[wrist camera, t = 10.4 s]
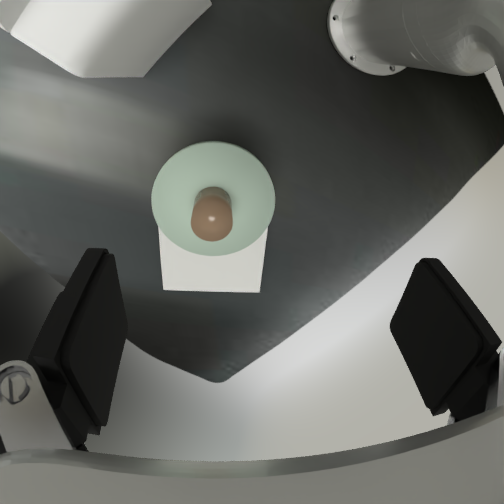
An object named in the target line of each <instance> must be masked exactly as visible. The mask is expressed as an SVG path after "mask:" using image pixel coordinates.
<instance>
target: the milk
mask: <svg viewBox="0 0 504 504" xmlns="http://www.w3.org/2000/svg"><path fill="white" fill-rule="evenodd" d="M211 5H212V3H211V1H210V0H0V27H1V28H2V29H4V30H5V31H7V32H11V35H12V36H13V37H15V38H17V39H18V40H20V41H21V42H23V43H25V44H26V45H28V46H29V47H31V48H32V49H34V50H36V51H37V52H39V53H40V54H42V55H43V56H45V57H46V58H48V59H50V60H51V61H53V62H54V63H56V64H57V65H59V66H60V67H62V68H64V69H65V70H67V71H68V72H70V73H72V74H74V75H76V76H79V77H83V78H95V77H144V76H145V75H146V73H147V72H148V71H149V70H150V69H151V67H152V66H153V65H154V64H155V63H156V62H157V61H158V59H159V58H160V57H161V56H162V55H163V54H164V53H165V52H166V51H167V49H168V48H169V47H170V46H171V45H172V44H173V43H174V42H175V41H176V40H177V39H178V38H179V37H180V36H181V34H182V33H183V32H184V31H185V30H186V29H187V28H188V27H189V26H190V25H191V24H192V23H193V22H194V21H195V20H196V19H197V18H198V17H199V16H201V15H202V14H203V13H204V12H205V11H206V10H207V9H208V8H209V7H210V6H211Z"/></svg>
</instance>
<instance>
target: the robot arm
mask: <svg viewBox="0 0 504 504" xmlns="http://www.w3.org/2000/svg"><path fill="white" fill-rule="evenodd" d="M333 17H334V18H335V21H334V20H333ZM327 29H328V33H329V37H330V39H331V42H332V44H333V46H334V48H335V49H336V51H337V52H338V54H339V55H340V56H341V57H342V58H343V59H344V60H345V61H346V62H347V63H348V64H350V65H351V66H352V67H354V68H356V69H358V70H359V71H362V72H365V73H368V74H372V75H381V76H385V75H392V74H395V73H398V72H400V71H402V70H403V69H405V68H406V67H412V68H419V69H426V70H432V71H438V72H444V73H449V74H455V75H462V76H473V75H478V74H481V73H484V72H486V71H488V70H489V69H490V68H492V67H493V66H494V65H496V66H497V68H498V71H499V74H500V77H501V80H502V83H503V86H504V0H334V1H333V2H332V3H331V6H330V8H329V11H328V17H327ZM350 56H351V57H352V60H350ZM389 67H391V69H390V68H389ZM390 330H391V333H392V335H393V337H394V339H395V341H396V343H397V345H398V347H399V349H400V351H401V353H402V355H403V357H404V360H405V362H406V364H407V366H408V368H409V370H410V372H411V374H412V376H413V379H414V381H415V383H416V385H417V387H418V390H419V392H420V394H421V396H422V399H423V400H424V403H425V405H426V407H427V408H429V409H430V411H431V413H432V415H433V416H436V415H439V414H442V413H445V412H446V411H447V410H448V409H449V410H450V412H451V413H450V416H449V420H448V424H447V426H444V427H441V428H438V429H434V430H431V431H428V432H425V433H421V434H417V435H414V436H410V437H406V438H402V439H398V440H394V441H390V442H386V443H382V444H377V445H372V446H368V447H363V448H358V449H352V450H347V451H341V452H335V453H328V454H321V455H313V456H305V457H296V458H286V459H274V460H259V461H230V462H208V461H207V462H206V461H179V460H160V459H147V458H137V457H127V456H119V455H111V454H102V453H94V452H89V450H88V449H87V447H86V446H85V444H84V442H85V441H86V439H87V434H88V433H89V434H95V435H100V430H101V426H106V424H107V422H108V416H109V411H110V406H111V401H112V396H113V391H114V387H115V382H116V378H117V373H118V369H119V365H120V360H121V356H122V352H123V348H124V344H125V340H126V336H127V331H128V322H127V318H126V313H125V309H124V304H123V299H122V294H121V289H120V284H119V279H118V274H117V268H116V262H115V257H114V255H113V254H109V252H108V250H107V249H104V248H88V249H87V250H86V251H85V253H84V255H83V257H82V258H81V260H80V262H79V264H78V265H77V267H76V269H75V271H74V272H73V274H72V276H71V278H70V280H69V282H68V283H67V285H66V287H65V289H64V291H63V292H61V293H60V294H59V295H58V297H57V299H56V301H55V302H54V304H53V306H52V308H51V310H50V312H49V314H48V316H47V318H46V320H45V322H44V324H43V326H42V329H41V331H40V333H39V335H38V337H37V339H36V341H35V344H34V346H33V348H32V350H31V353H30V355H29V357H28V360H27V362H23V361H10V362H7V363H4V364H3V365H1V366H0V504H504V348H503V349H502V350H501V351H500V353H499V354H498V353H497V351H496V350H497V349H498V347H499V346H500V344H501V343H502V341H501V340H500V338H499V337H498V335H497V334H496V333H495V331H494V330H493V328H492V327H491V325H490V324H489V323H488V321H487V320H486V318H485V317H484V316H483V314H482V313H481V312H480V310H479V309H478V308H477V306H476V305H475V304H474V302H473V301H472V300H471V298H470V297H469V296H468V295H467V293H466V292H465V291H464V289H463V288H462V287H461V286H460V285H459V283H458V282H457V281H456V279H455V278H454V277H453V276H452V274H451V273H450V272H449V271H448V270H447V268H446V267H445V266H444V265H443V264H442V263H441V261H440V260H439V259H437V258H422V259H421V260H420V261H419V262H418V263H417V264H416V265H415V267H414V270H413V272H412V274H411V277H410V279H409V282H408V284H407V287H406V289H405V291H404V293H403V296H402V298H401V300H400V302H399V305H398V307H397V309H396V311H395V313H394V315H393V318H392V320H391V323H390Z"/></svg>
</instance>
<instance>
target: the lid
mask: <svg viewBox="0 0 504 504" xmlns="http://www.w3.org/2000/svg"><path fill="white" fill-rule="evenodd" d="M151 203H152V210H153V214H154V217H155V220H156V222H157V224H158V226H159V228H160V229H161V231H162V232H163V233H164V234H165V236H166V237H167V238H168V239H169V240H170V241H172V242H173V243H174V244H176V245H177V246H179V247H180V248H182V249H184V250H186V251H189V252H191V253H195V254H199V255H204V256H222V255H228V254H232V253H235V252H238V251H240V250H242V249H244V248H246V247H248V246H249V245H251V244H252V243H254V242H255V241H256V240H257V239H258V238H259V237H260V236H261V235H262V234H263V233H264V231H265V230H266V228H267V227H268V225H269V223H270V221H271V219H272V216H273V213H274V208H275V191H274V187H273V183H272V181H271V178H270V176H269V173H268V172H267V170H266V168H265V167H264V165H263V164H262V163H261V162H260V160H259V159H258V158H257V157H256V156H254V155H253V154H252V153H250V152H249V151H248V150H246V149H244V148H242V147H240V146H238V145H235V144H232V143H228V142H224V141H204V142H198V143H195V144H192V145H189V146H187V147H185V148H183V149H181V150H180V151H178V152H176V153H175V154H174V155H173V156H172V157H170V158H169V159H168V161H167V162H166V163H165V164H164V165H163V167H162V168H161V170H160V172H159V173H158V176H157V178H156V180H155V182H154V186H153V190H152V202H151Z"/></svg>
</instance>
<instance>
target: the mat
mask: <svg viewBox="0 0 504 504" xmlns="http://www.w3.org/2000/svg"><path fill="white" fill-rule="evenodd" d="M267 230H268V227H267V228H266V230H265V231H264V233H263V234H262V235H261V236H260V237H259V238H258V239H257V240H256V241H255V242H254V243H252V244H251V245H249V246H248V247H246V248H244V249H242V250H240V251H238V252H235V253H232V254H228V255H222V256H204V255H199V254H195V253H191V252H189V251H186V250H184V249H182V248H180V247H179V246H177V245H176V244H174V243H173V242H172V241H170V240H169V239H168V238H167V237H166V236H165V234H164V233H163V232H162V231H161V229H160V228H159V241H160V255H161V267H162V278H163V289H164V290H183V291H216V292H259V291H260V284H261V276H262V268H263V261H264V253H265V245H266V237H267Z"/></svg>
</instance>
